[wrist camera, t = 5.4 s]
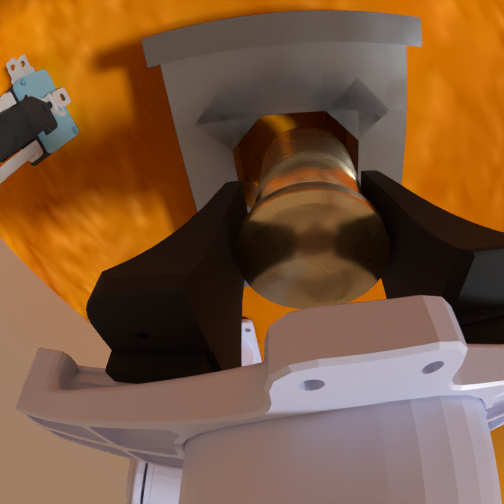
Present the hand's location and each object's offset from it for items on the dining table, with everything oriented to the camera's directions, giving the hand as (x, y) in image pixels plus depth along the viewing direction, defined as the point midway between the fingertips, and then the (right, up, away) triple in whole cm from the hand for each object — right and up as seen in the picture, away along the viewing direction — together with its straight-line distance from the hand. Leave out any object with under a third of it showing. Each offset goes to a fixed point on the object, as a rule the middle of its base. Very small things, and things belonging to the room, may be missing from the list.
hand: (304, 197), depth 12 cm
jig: (0, +3, +4) cm, 5 cm away
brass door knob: (0, +2, +2) cm, 2 cm away
